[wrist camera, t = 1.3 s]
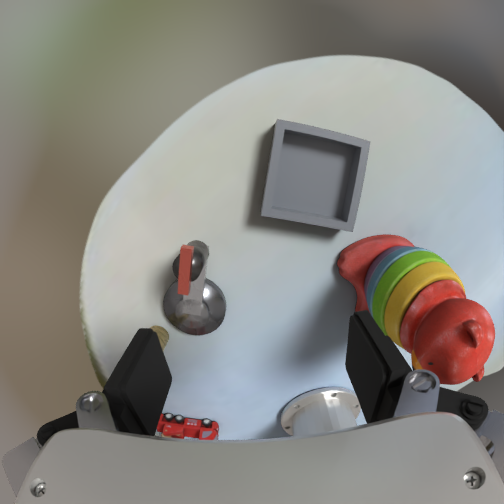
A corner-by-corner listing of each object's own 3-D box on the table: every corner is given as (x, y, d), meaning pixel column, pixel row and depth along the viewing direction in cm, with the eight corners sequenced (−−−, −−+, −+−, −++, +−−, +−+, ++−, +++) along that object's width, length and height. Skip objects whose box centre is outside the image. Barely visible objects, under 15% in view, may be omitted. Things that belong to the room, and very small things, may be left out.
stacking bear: (330, 253, 29) (409, 357, 12) (406, 213, 28) (524, 269, 11) (360, 326, 32) (419, 436, 15) (425, 289, 30) (511, 370, 13)
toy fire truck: (219, 430, 38) (214, 477, 29) (140, 417, 38) (124, 459, 29) (219, 419, 37) (214, 469, 28) (137, 405, 37) (119, 449, 28)
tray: (344, 226, 28) (352, 232, 26) (260, 211, 28) (261, 215, 25) (360, 143, 25) (370, 141, 23) (275, 123, 25) (277, 119, 23)
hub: (222, 333, 32) (221, 339, 31) (166, 323, 32) (163, 328, 31) (229, 281, 30) (228, 285, 29) (167, 270, 30) (164, 275, 29)
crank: (208, 326, 30) (198, 360, 24) (177, 320, 30) (162, 353, 24) (218, 232, 27) (209, 252, 21) (183, 227, 27) (164, 245, 21)
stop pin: (169, 345, 33) (151, 388, 25) (148, 341, 33) (127, 381, 25) (169, 328, 32) (149, 369, 24) (148, 323, 32) (124, 363, 24)
